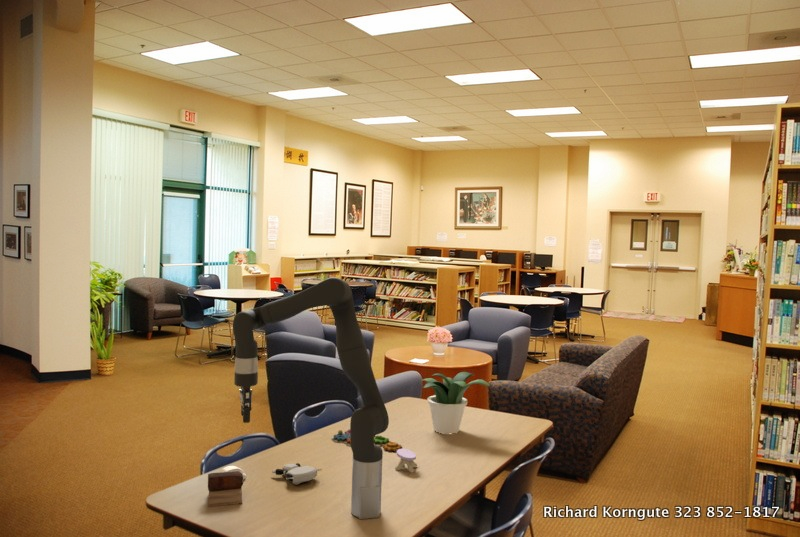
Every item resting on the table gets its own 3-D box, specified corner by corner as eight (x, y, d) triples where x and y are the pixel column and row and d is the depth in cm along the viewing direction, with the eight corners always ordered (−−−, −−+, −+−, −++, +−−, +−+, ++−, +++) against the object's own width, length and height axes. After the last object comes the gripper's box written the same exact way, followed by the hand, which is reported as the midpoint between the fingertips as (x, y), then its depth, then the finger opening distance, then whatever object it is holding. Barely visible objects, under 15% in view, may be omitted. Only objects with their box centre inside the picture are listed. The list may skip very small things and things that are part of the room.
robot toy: (269, 479, 214) (294, 489, 203) (269, 466, 214) (293, 476, 203) (298, 471, 222) (323, 480, 212) (298, 459, 222) (323, 467, 212)
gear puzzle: (410, 448, 250) (410, 438, 250) (387, 458, 237) (387, 448, 237) (352, 432, 268) (352, 423, 268) (327, 441, 255) (328, 431, 255)
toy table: (390, 464, 230) (391, 449, 230) (413, 462, 233) (413, 447, 232) (398, 473, 221) (398, 458, 220) (421, 472, 223) (422, 456, 223)
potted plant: (474, 448, 251) (476, 387, 250) (401, 432, 268) (403, 376, 267) (501, 429, 278) (503, 374, 277) (433, 416, 296) (435, 364, 295)
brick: (208, 492, 191) (208, 477, 190) (207, 487, 194) (208, 473, 194) (242, 488, 194) (243, 474, 194) (241, 483, 198) (241, 469, 198)
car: (239, 474, 216) (239, 461, 216) (247, 479, 211) (248, 466, 211) (207, 482, 208) (207, 469, 207) (215, 488, 203) (215, 474, 203)
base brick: (242, 503, 191) (242, 492, 191) (207, 506, 188) (208, 495, 188) (241, 491, 200) (241, 481, 200) (208, 494, 197) (208, 483, 197)
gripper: (259, 374, 195) (259, 424, 196) (255, 365, 208) (255, 412, 209) (235, 375, 193) (235, 425, 193) (233, 366, 206) (232, 413, 207)
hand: (245, 418), depth 201 cm, fingers open, 8 cm apart
